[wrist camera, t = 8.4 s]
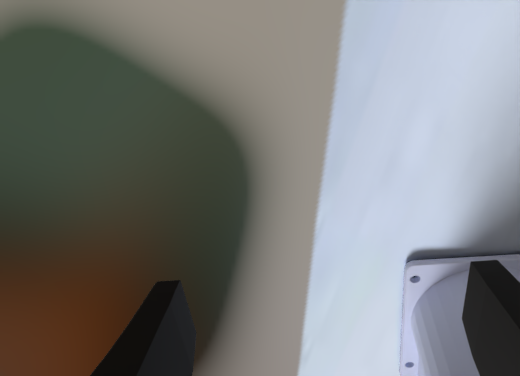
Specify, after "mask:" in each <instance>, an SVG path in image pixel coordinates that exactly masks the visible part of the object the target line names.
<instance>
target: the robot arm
mask: <svg viewBox="0 0 520 376" xmlns="http://www.w3.org/2000/svg"><path fill="white" fill-rule="evenodd" d="M412 276H417V277H414V278H412ZM195 341H196V330H195V327H194V323H193V320H192V317H191V314H190V310H189V307H188V304H187V301H186V297H185V294H184V291H183V287H182V284H181V281H180V280H175V281H160V282H157V283H156V284H155V285H154V286H153V288H152V289H151V291H150V292H149V294H148V295H147V297H146V299H145V300H144V301H143V303H142V305H141V306H140V308H139V309H138V311H137V312H136V314H135V315H134V317H133V318H132V320H131V321H130V322H129V324H128V326H127V327H126V328H125V330H124V331H123V333H122V334H121V335H120V337H119V338H118V340H117V341H116V342H115V344H114V345H113V346H112V348H111V349H110V351H109V352H108V353H107V355H106V356H105V357H104V359H103V360H102V361H101V362H100V364H99V365H98V366H97V367H96V369H95V370H94V371H93V372H92V374H91V375H90V376H192V372H193V363H194V353H195ZM399 372H400V376H520V254H514V255H496V256H479V257H462V258H445V259H428V260H413V261H410V262H408V263H407V264H406V265H405V267H404V284H403V305H402V325H401V345H400V366H399Z"/></svg>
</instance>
